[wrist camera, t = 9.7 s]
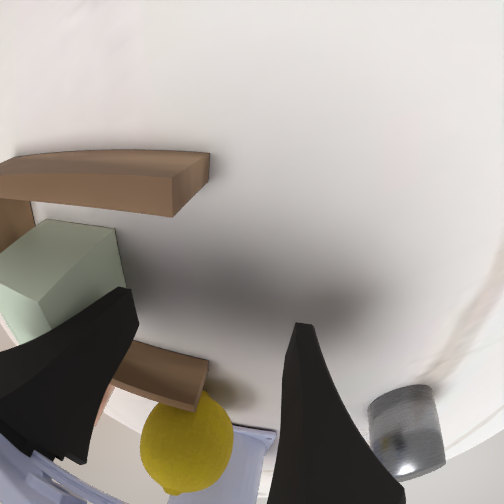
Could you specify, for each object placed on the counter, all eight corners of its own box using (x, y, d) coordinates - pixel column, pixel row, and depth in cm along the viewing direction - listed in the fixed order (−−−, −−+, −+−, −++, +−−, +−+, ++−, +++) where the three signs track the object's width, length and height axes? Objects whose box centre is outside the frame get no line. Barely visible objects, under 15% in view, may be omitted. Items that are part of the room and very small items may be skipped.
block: (133, 313, 13) (88, 386, 9) (69, 292, 14) (22, 348, 9) (114, 228, 10) (38, 302, 6) (45, 218, 11) (-20, 271, 7)
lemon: (246, 379, 15) (218, 505, 8) (240, 414, 18) (219, 508, 11) (158, 358, 15) (110, 469, 8) (170, 397, 18) (138, 484, 11)
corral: (208, 369, 15) (195, 412, 12) (62, 321, 16) (40, 349, 13) (209, 153, 8) (171, 177, 6) (13, 157, 9) (-27, 177, 7)
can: (409, 415, 16) (417, 478, 11) (356, 417, 16) (358, 488, 11) (444, 382, 13) (460, 456, 8) (387, 385, 14) (397, 471, 9)
